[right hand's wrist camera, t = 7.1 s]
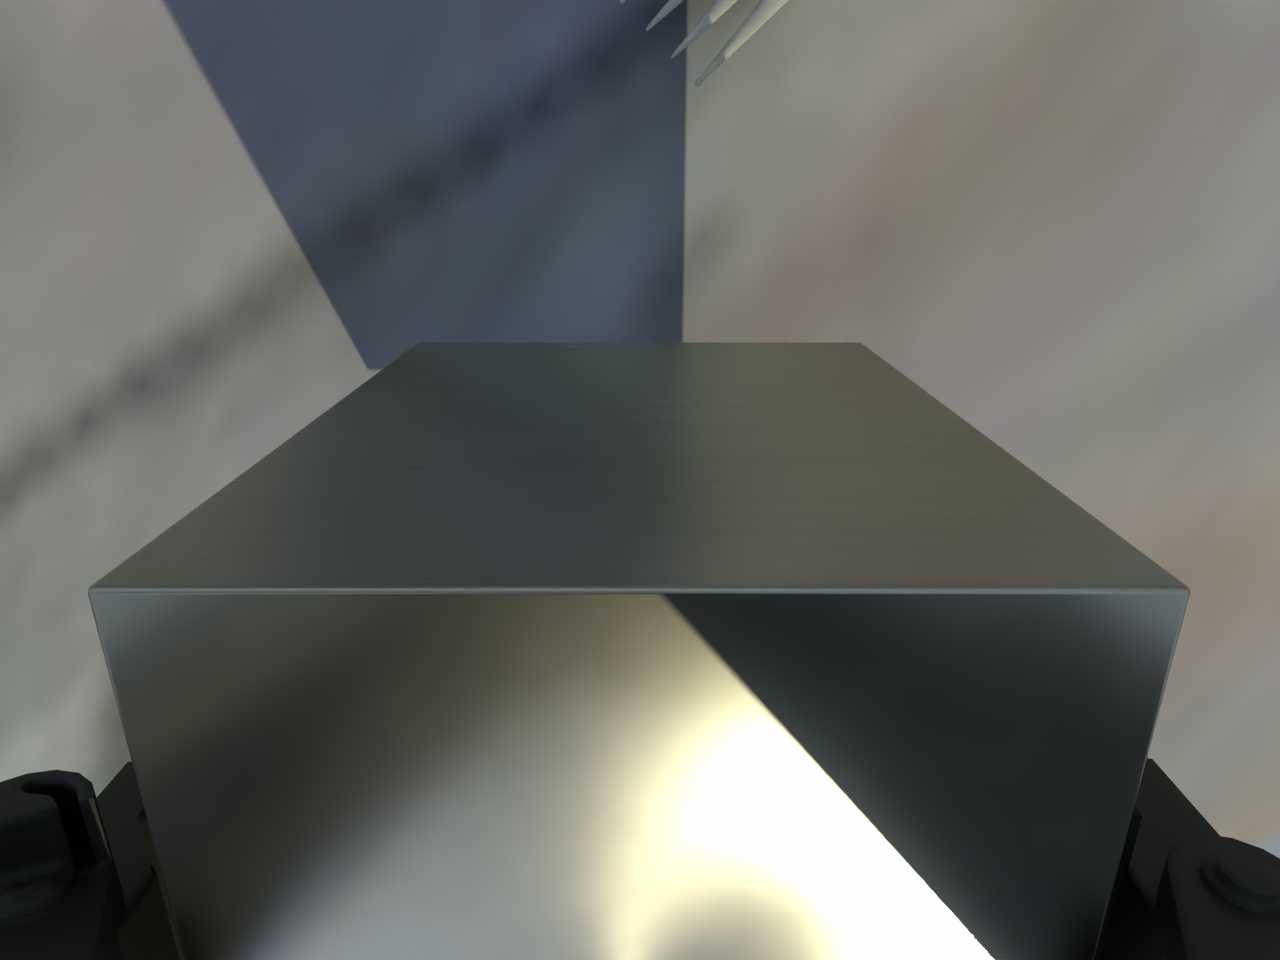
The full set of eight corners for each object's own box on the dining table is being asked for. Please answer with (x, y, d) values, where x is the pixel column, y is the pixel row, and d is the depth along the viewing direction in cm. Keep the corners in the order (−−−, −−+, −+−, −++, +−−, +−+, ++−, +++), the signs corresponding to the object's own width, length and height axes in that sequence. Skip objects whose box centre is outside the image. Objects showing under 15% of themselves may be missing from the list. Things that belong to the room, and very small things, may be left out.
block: (824, 733, 18) (1010, 1290, 9) (454, 733, 18) (267, 1290, 9) (861, 342, 15) (1194, 588, 6) (417, 342, 15) (82, 588, 6)
